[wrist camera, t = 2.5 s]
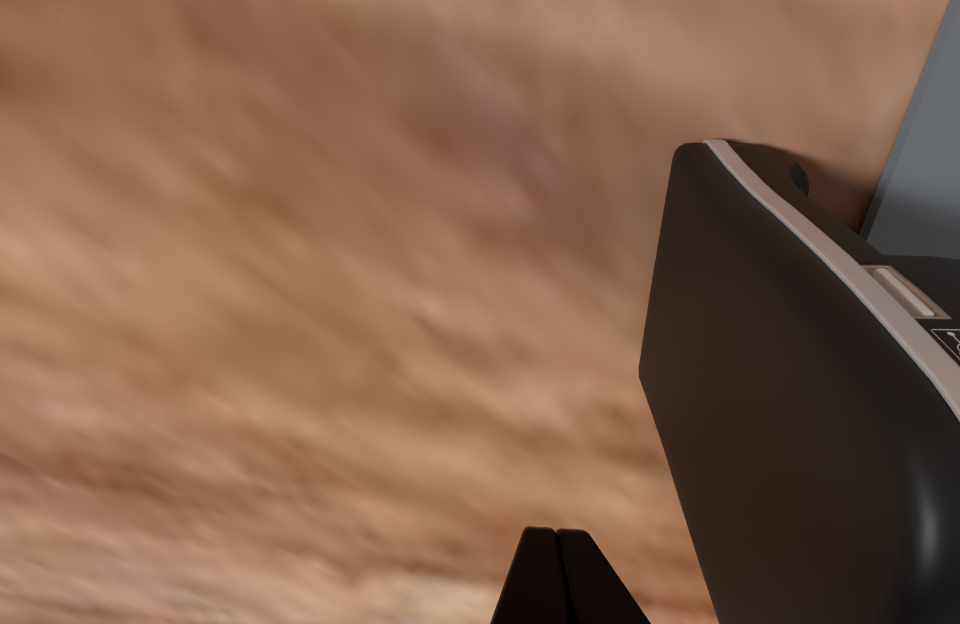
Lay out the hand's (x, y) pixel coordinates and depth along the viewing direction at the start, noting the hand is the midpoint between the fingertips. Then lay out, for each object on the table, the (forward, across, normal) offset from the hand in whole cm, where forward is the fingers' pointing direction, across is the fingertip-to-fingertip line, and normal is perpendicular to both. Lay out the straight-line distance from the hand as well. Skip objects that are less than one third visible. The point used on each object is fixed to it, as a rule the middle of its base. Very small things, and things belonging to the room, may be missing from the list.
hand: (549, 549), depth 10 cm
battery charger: (+10, -5, 0) cm, 11 cm away
